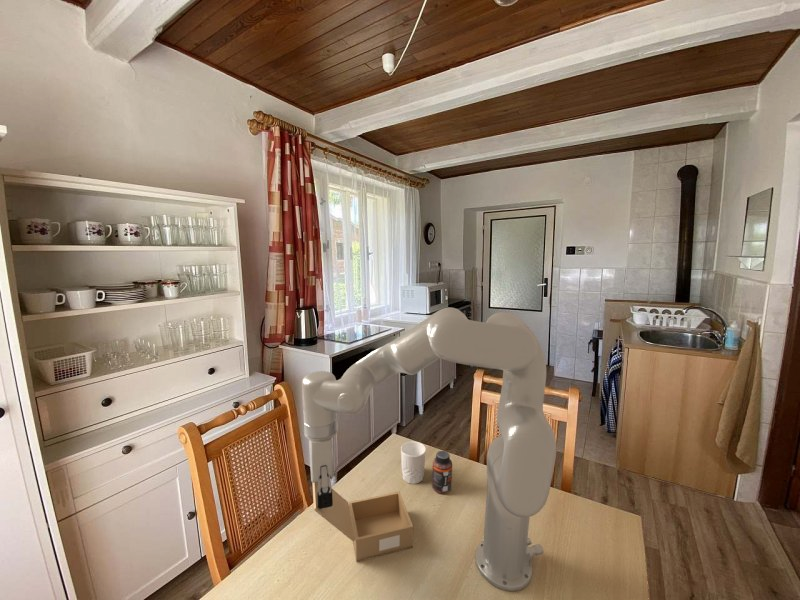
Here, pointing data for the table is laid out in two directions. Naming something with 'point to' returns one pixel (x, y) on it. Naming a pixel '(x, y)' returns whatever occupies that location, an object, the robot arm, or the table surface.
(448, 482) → the supplement bottle
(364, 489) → the table surface
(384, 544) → the carton
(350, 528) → the cardboard box lid
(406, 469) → the white cup
